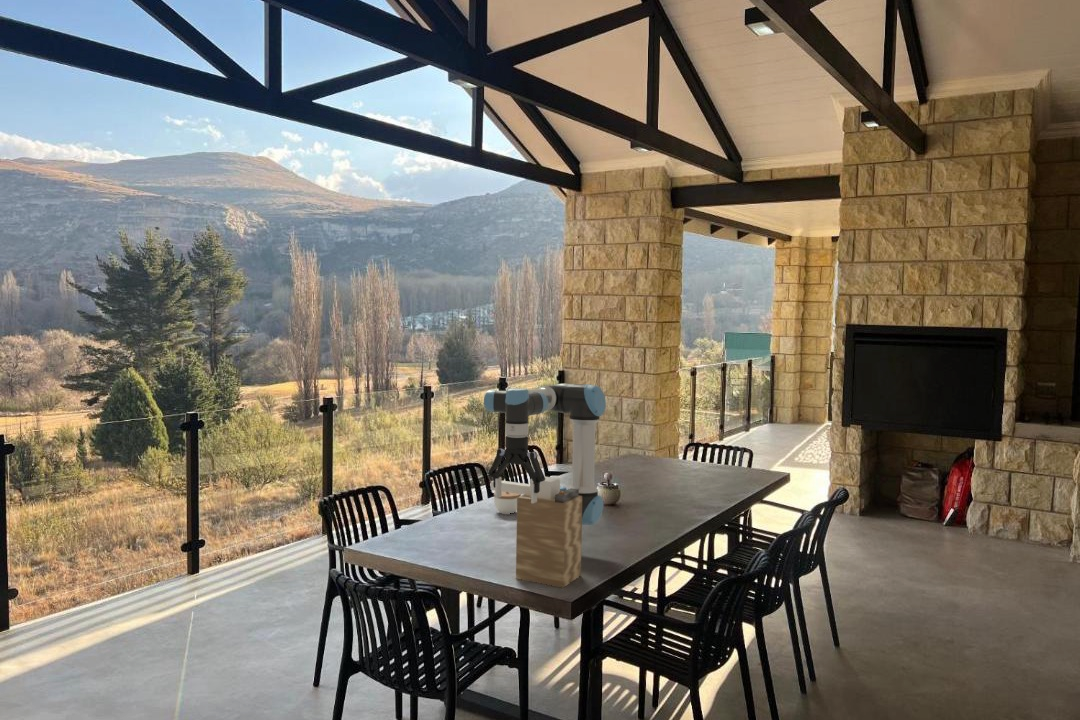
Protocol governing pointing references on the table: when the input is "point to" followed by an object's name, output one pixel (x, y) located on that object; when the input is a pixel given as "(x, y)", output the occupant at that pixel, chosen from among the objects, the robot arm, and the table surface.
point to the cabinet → (549, 538)
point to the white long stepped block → (546, 487)
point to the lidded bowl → (506, 502)
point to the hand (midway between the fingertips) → (516, 500)
